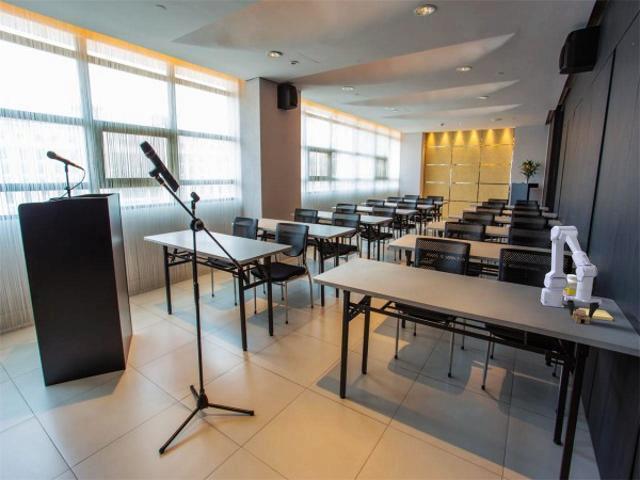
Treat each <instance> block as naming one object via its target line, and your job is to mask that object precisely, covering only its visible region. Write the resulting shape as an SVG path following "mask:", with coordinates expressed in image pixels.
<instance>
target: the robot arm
mask: <svg viewBox="0 0 640 480" xmlns="http://www.w3.org/2000/svg"><path fill="white" fill-rule="evenodd" d="M578 234H579V232H578V229H577V227H576V226H575V225H569V226H568V225H562V226H561V225H555V226H553V227H552V228H551V230H550V241H552V242H551V264H550V265H551V270H550V271H549V272H547V273H546V274H545V278H544V281H543V284H544V286H545V287H543V288H542V289H541V296H540V302H541V303H542V305H543V306H545V307H555V308H565V306H564V304H562V303H563V300H564V301H566V304H567V306H568V310H569V315H570V316H573V311H574V309H575V306H576V305H575V302H578V303H586V304H587V303H589V308H588V309H589V317H590V319H592V316H593V314H594V312H595V311H596V310H599V308H600V305H602V304H603V300H602V299H601V298H593V297H592V291H593V284H594V278H595V277H597V276H598V268H597V266H596V265H594V264H593V263H591V261H590V259H589V257H588V255H587V253H586V252H584V251H583V250H582V248H581V245H580V243H579V241H578ZM565 243H567V245H568V246H569V249H570V251H571V252H572V255H571V258H572V260H573V262H574V264H575V266H576V269H575V275H576V276H577V279H576V280H578V283H577V290H576V296H563V290H565V289H566V288H567V287H568V284H569V283H568V279H567V275H568V274H566V273H565V272H564V253H565V252H564V247H565V246H564V245H565ZM563 297H564V298H563Z"/></svg>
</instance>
